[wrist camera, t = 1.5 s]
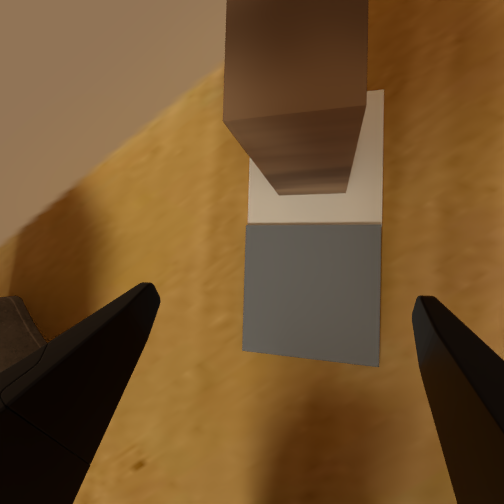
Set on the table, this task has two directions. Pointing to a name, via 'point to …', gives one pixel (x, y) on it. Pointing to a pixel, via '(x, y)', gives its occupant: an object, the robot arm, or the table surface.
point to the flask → (16, 332)
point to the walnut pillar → (297, 89)
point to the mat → (313, 292)
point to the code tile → (330, 205)
